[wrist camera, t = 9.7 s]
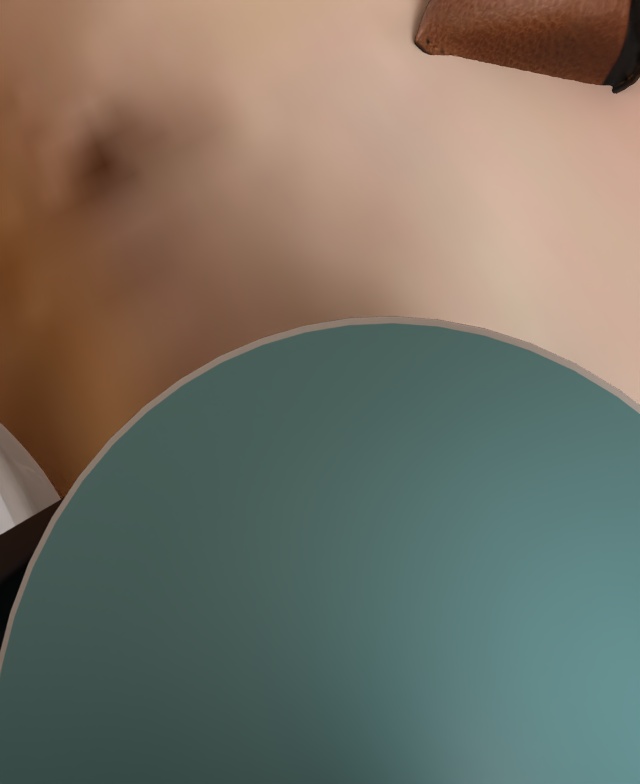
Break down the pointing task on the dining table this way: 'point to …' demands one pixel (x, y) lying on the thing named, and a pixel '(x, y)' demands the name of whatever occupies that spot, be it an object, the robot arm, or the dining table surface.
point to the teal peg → (342, 574)
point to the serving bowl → (21, 483)
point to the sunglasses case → (540, 36)
